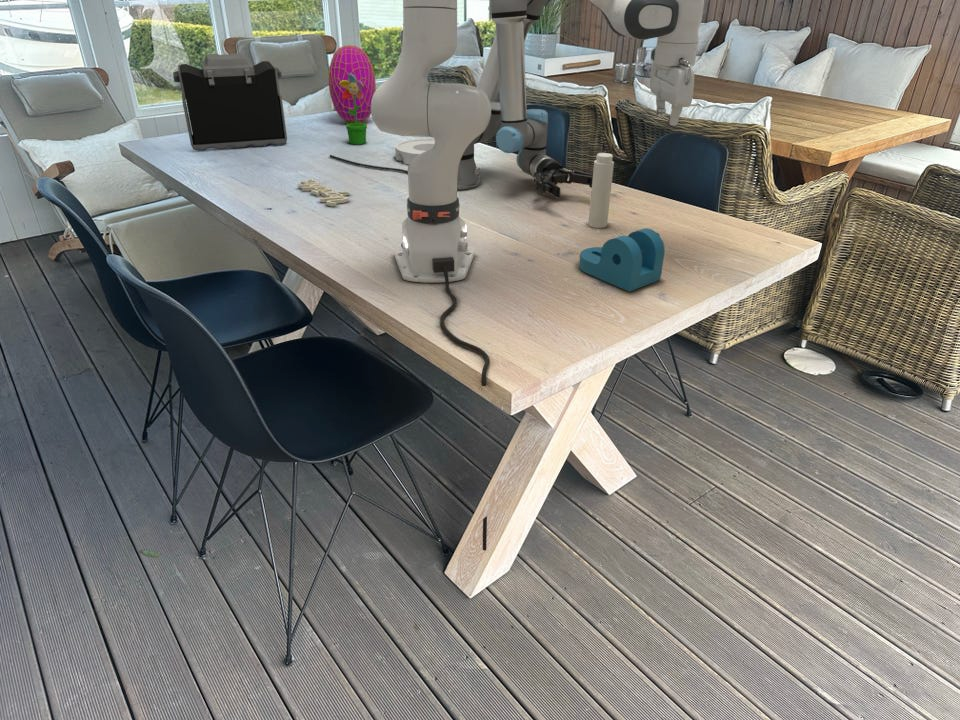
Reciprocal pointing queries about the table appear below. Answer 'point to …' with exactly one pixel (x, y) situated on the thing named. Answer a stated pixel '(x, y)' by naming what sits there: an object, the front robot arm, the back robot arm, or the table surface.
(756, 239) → the table surface
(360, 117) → the decorative egg
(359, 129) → the potted flower
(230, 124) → the electronic device
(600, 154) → the beige long cylinder
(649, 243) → the camera mount
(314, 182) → the decorative sign
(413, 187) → the front robot arm
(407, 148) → the ashtray
